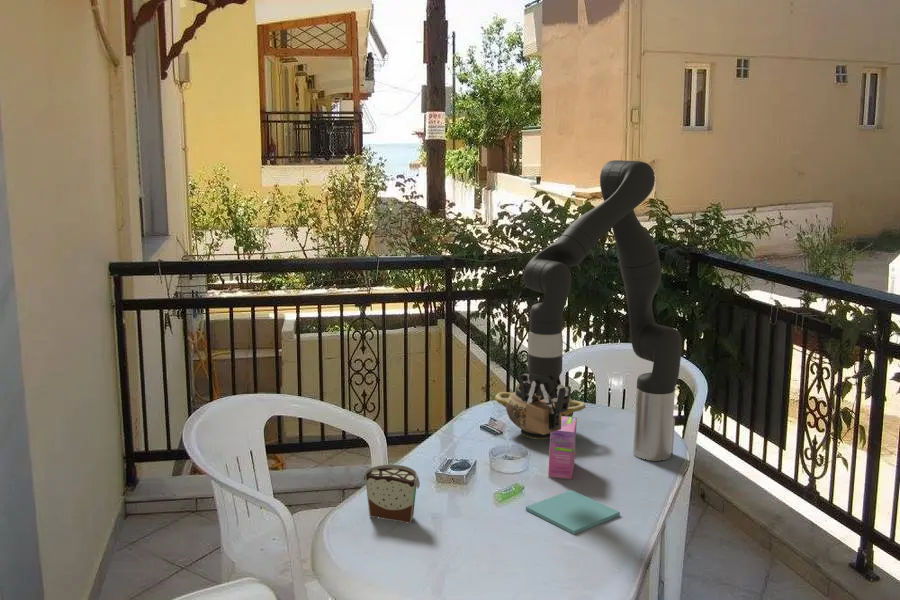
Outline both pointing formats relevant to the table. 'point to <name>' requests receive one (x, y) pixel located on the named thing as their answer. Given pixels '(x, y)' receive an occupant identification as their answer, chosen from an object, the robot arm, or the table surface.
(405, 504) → the food container
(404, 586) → the table surface
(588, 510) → the mat
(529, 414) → the cube
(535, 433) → the ceramic bowl
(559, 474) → the box
